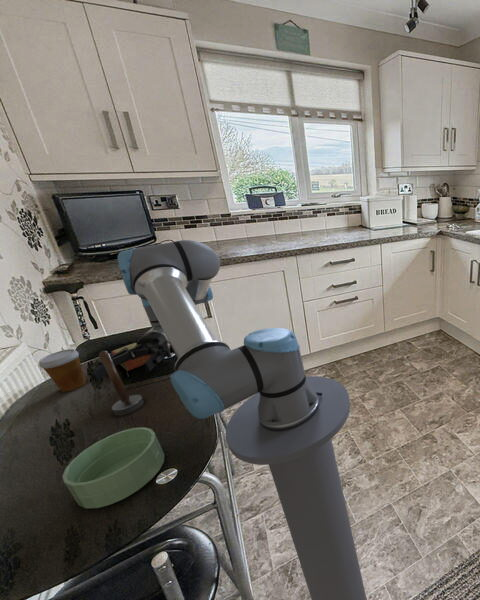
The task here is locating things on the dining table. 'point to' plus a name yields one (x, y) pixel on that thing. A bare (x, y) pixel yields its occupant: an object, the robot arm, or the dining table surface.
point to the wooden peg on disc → (120, 389)
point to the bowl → (114, 467)
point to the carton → (132, 363)
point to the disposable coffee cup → (64, 369)
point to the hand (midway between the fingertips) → (121, 372)
